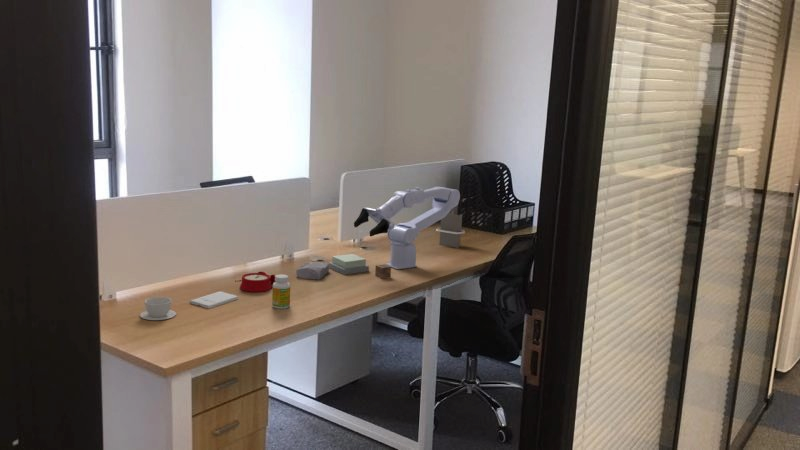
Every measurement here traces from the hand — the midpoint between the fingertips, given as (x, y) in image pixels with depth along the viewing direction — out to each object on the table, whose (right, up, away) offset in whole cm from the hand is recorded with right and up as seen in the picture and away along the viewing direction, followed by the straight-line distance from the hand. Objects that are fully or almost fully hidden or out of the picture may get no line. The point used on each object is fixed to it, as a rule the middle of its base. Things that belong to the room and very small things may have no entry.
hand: (362, 229), depth 261 cm
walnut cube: (+7, -17, +3) cm, 19 cm away
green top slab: (-6, -13, +10) cm, 17 cm away
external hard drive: (-44, -23, -34) cm, 61 cm away
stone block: (-18, -17, +1) cm, 25 cm away
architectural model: (+35, -8, +57) cm, 67 cm away
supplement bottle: (-23, -24, -36) cm, 49 cm away
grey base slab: (-6, -15, +10) cm, 19 cm away
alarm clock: (-34, -19, -17) cm, 43 cm away
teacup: (-57, -25, -50) cm, 80 cm away
